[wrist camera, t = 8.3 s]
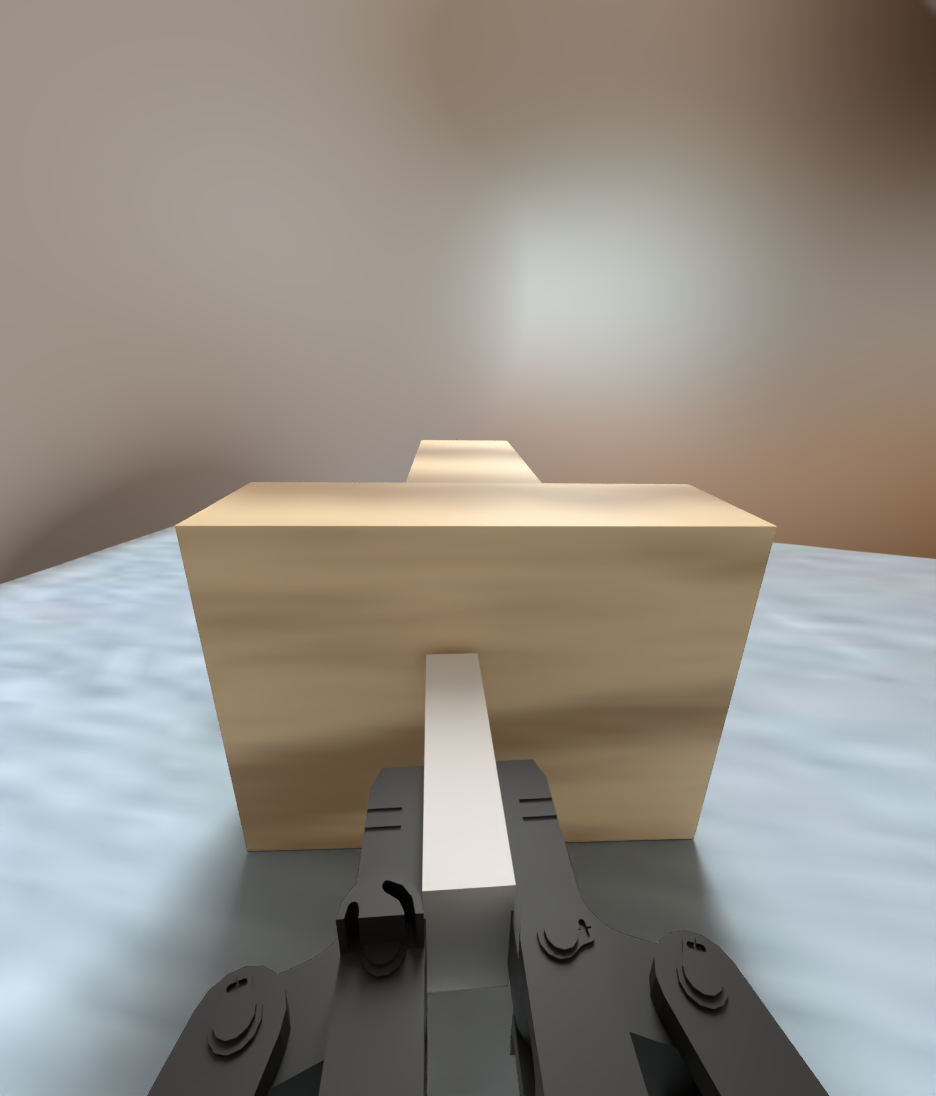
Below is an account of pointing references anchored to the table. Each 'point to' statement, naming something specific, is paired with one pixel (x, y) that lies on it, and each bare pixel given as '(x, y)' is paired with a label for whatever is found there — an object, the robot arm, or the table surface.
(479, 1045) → the table surface
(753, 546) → the oak T block
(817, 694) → the table surface
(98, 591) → the table surface
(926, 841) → the table surface
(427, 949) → the robot arm
